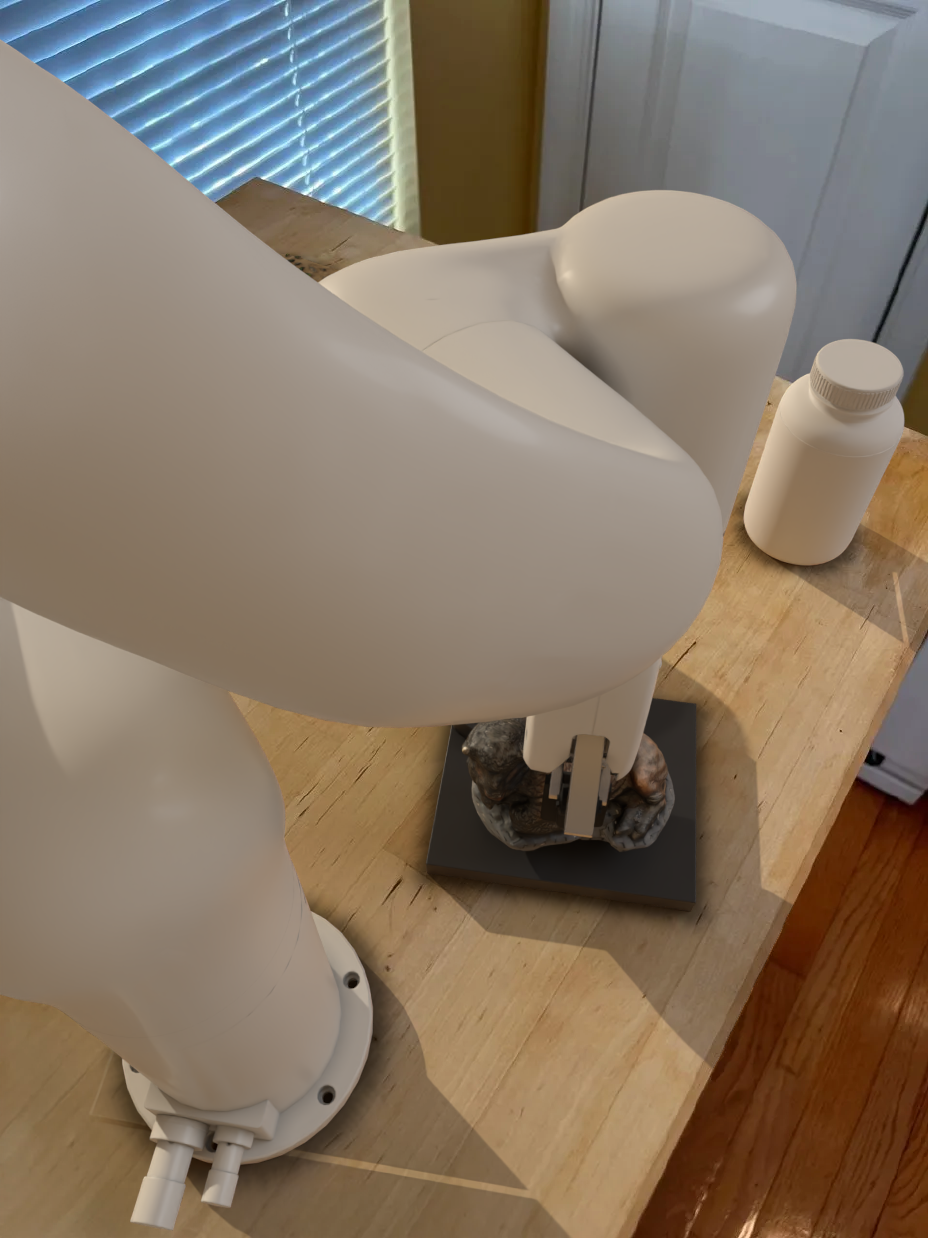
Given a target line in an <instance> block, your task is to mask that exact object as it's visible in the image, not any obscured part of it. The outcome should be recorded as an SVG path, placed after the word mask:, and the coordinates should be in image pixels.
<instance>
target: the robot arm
mask: <svg viewBox="0 0 928 1238" xmlns="http://www.w3.org/2000/svg"><path fill="white" fill-rule="evenodd" d="M278 253H279V252H277V251H276V250H275V249H273V248H272V247H271V246H269V245H268V244H267V243H265V242H264V241H263V240H262V239H260V238H259V237H258V236H256V235H255V234H254V233H253V232H251V231H250V230H249V229H248V228H246V227H245V226H244V225H243V224H241V223H240V222H239V221H238V220H237V219H235V218H234V217H233V216H231V215H230V214H229V213H228V212H227V211H225V209H223V208H222V207H220V205H218V204H217V203H215V202H214V201H213V200H212V199H211V198H209V196H207V195H206V194H205V193H203V191H201V190H200V189H198V187H196V185H194V184H193V183H192V182H191V181H189V180H188V179H187V178H186V177H185V176H183V175H182V174H181V173H180V172H178V171H177V169H175V168H174V167H173V166H171V164H169V163H168V162H167V161H166V160H165V159H163V158H162V157H161V156H160V155H159V154H158V153H156V151H155V152H154V151H153V150H152V148H150V147H149V146H147V144H145V143H144V142H143V141H142V140H140V139H139V138H138V137H137V136H135V134H133V133H132V132H130V131H129V130H128V129H126V128H125V127H124V126H123V125H121V124H120V123H119V122H118V121H116V120H115V119H114V118H112V117H111V116H110V115H108V114H107V113H106V112H104V110H102V109H101V108H99V107H98V106H97V105H96V104H94V103H93V102H91V101H90V100H89V99H88V98H86V97H85V96H84V95H82V94H81V93H79V92H78V91H77V90H75V89H74V88H73V87H71V86H70V85H68V84H67V83H66V82H64V81H62V80H61V79H60V78H59V77H57V76H56V75H54V74H52V73H51V72H49V71H48V70H46V69H44V68H43V67H41V66H40V65H38V64H37V63H36V62H35V61H33V60H31V59H30V58H28V57H27V56H26V55H25V54H23V53H22V52H21V51H19V50H17V49H16V48H14V47H13V46H11V45H10V44H8V43H6V42H5V41H4V40H2V39H0V995H1V996H3V997H8V998H11V999H15V1000H18V1001H24V1002H30V1003H36V1004H41V1005H46V1006H51V1007H53V1008H55V1009H57V1010H59V1011H60V1012H62V1013H63V1014H65V1015H66V1016H68V1017H69V1018H70V1019H71V1020H72V1021H74V1022H75V1023H76V1024H78V1025H79V1026H80V1027H81V1028H82V1029H84V1030H85V1031H86V1032H88V1033H90V1035H92V1036H93V1037H95V1038H96V1039H98V1040H99V1041H100V1042H102V1043H103V1044H104V1045H105V1046H106V1047H107V1048H109V1049H110V1050H111V1051H113V1052H114V1053H115V1054H116V1055H117V1056H118V1057H120V1058H121V1064H122V1069H123V1074H124V1079H125V1083H126V1088H127V1092H128V1093H129V1095H130V1098H131V1100H132V1102H133V1105H134V1107H135V1109H136V1111H137V1113H138V1114H139V1116H140V1117H141V1118H142V1119H143V1121H144V1122H145V1124H146V1125H147V1126H148V1127H149V1129H150V1131H151V1132H150V1136H149V1141H151V1142H154V1143H156V1144H155V1149H154V1151H153V1155H152V1157H151V1161H150V1164H149V1167H148V1171H147V1173H146V1175H145V1176H143V1179H142V1182H141V1185H140V1189H139V1192H138V1194H137V1198H136V1202H135V1205H134V1207H133V1212H132V1214H131V1217H130V1221H129V1223H132V1224H135V1225H139V1226H144V1227H149V1228H153V1229H159V1230H165V1231H174V1229H175V1225H176V1222H177V1218H178V1216H179V1215H178V1214H179V1211H180V1208H181V1204H182V1201H183V1198H184V1194H185V1191H186V1187H187V1184H185V1183H186V1179H187V1175H188V1172H189V1170H190V1169H189V1168H190V1165H191V1162H192V1158H193V1159H197V1160H199V1161H201V1162H205V1163H207V1164H212V1165H211V1169H209V1170H208V1174H207V1178H206V1181H205V1185H204V1187H203V1192H202V1196H201V1200H200V1203H203V1204H205V1205H209V1206H214V1207H220V1208H225V1209H231V1207H232V1204H233V1200H234V1197H235V1192H236V1188H237V1184H238V1180H239V1176H240V1175H239V1171H240V1168H241V1166H242V1165H251V1164H258V1163H261V1162H264V1161H268V1160H272V1159H274V1158H277V1157H280V1156H284V1155H285V1154H287V1153H289V1152H290V1151H293V1150H294V1149H296V1148H298V1147H300V1146H301V1145H304V1144H305V1143H306V1142H309V1140H311V1139H312V1138H313V1137H314V1136H315V1135H316V1134H318V1133H319V1132H321V1131H322V1130H323V1129H324V1128H325V1127H327V1126H328V1124H329V1123H330V1122H331V1121H332V1120H333V1119H334V1118H335V1116H336V1115H337V1114H338V1113H339V1112H340V1110H341V1109H343V1107H344V1106H345V1105H346V1103H347V1101H348V1100H349V1098H350V1096H351V1094H352V1093H353V1091H354V1090H355V1088H356V1086H357V1085H358V1083H359V1081H360V1078H361V1075H362V1073H363V1070H364V1068H365V1065H366V1063H367V1060H368V1057H369V1053H370V1048H371V1042H372V1037H373V1033H374V1032H373V1031H374V1030H373V1029H374V1024H373V1023H374V1005H373V1000H372V994H371V993H372V992H371V987H370V984H369V980H368V978H367V977H368V976H367V973H366V970H365V968H364V966H363V964H362V961H361V959H360V958H359V955H358V953H357V952H356V950H355V948H354V947H353V946H352V945H351V943H350V941H348V939H347V938H346V936H345V935H344V934H343V933H342V931H340V930H339V929H338V928H337V927H336V926H335V925H333V924H332V923H331V922H330V921H329V920H328V919H326V918H324V917H323V916H321V915H319V914H317V913H315V912H314V911H311V908H310V906H309V903H308V900H307V896H306V894H305V891H304V888H303V885H302V883H301V881H300V878H299V875H298V872H297V870H296V868H295V864H294V863H293V860H292V858H291V855H290V852H289V849H288V846H287V844H286V840H285V838H286V837H285V836H286V819H287V818H286V805H285V801H284V800H285V799H284V796H283V791H282V788H281V785H280V783H279V781H278V778H277V776H276V773H275V771H274V769H273V766H272V764H271V762H270V760H269V758H268V756H267V754H266V753H265V751H264V749H263V746H262V745H261V743H260V741H259V739H258V737H257V736H256V734H255V733H254V731H253V729H252V727H251V726H250V723H249V722H248V720H247V719H246V718H245V715H244V714H243V713H242V710H241V709H240V707H239V706H238V704H237V703H236V701H235V699H234V697H233V696H232V695H231V693H233V694H236V695H238V696H241V697H244V698H247V699H250V700H253V701H256V702H258V703H262V704H264V705H267V706H270V707H273V708H276V709H279V710H282V711H287V712H290V713H294V714H299V715H301V716H307V717H310V718H314V719H317V720H321V721H326V722H333V723H339V724H345V725H351V726H359V727H366V728H383V729H385V728H386V729H388V728H389V729H409V728H434V727H444V726H451V725H457V724H468V723H479V722H490V721H496V720H503V719H510V718H523V717H527V719H526V728H525V738H524V748H523V758H524V761H525V762H526V764H527V765H528V767H529V768H530V769H532V770H536V771H541V772H546V773H550V772H551V773H550V774H546V776H545V783H544V790H543V797H542V805H541V813H540V818H541V819H543V820H546V821H553V822H556V824H557V826H559V827H561V828H563V829H564V834H566V835H574V836H581V837H588V838H592V836H593V829H594V827H601V826H602V825H603V822H604V819H605V815H606V811H607V807H608V803H609V799H610V796H611V790H612V783H610V782H611V776H612V775H614V776H615V779H616V781H617V780H619V779H621V778H623V777H624V776H625V775H626V774H628V772H629V771H630V770H631V768H632V766H633V764H634V761H635V758H636V755H637V752H638V749H639V746H640V742H641V739H642V735H643V731H644V728H645V724H646V721H647V717H648V713H649V709H650V705H651V701H652V698H654V697H653V696H654V694H655V690H656V685H657V681H658V677H659V672H660V670H661V668H662V665H663V661H662V660H663V656H665V654H667V653H668V652H670V651H671V649H672V648H674V646H675V645H676V644H677V643H678V642H679V640H680V639H682V637H683V636H684V635H685V634H686V633H687V632H688V631H689V629H690V628H691V627H692V625H693V623H694V622H695V621H696V619H697V618H698V617H699V615H700V614H701V613H702V610H703V608H704V607H705V604H706V603H707V600H708V599H709V597H710V595H711V592H712V590H713V587H714V585H715V582H716V578H717V576H718V572H719V569H720V566H721V562H722V554H723V548H724V547H723V546H724V537H725V533H726V530H727V528H728V525H729V522H730V519H731V515H732V512H733V509H734V507H735V503H736V499H737V498H738V497H737V496H738V493H739V491H740V487H741V484H742V482H743V478H744V474H745V472H746V468H747V467H748V466H747V465H748V461H749V459H750V456H751V452H752V451H753V450H752V449H753V447H754V444H755V440H756V437H757V433H758V431H759V427H760V425H761V421H762V419H763V416H764V412H765V410H766V409H765V408H766V406H767V403H768V400H769V396H770V394H771V390H772V388H773V387H772V386H773V384H774V380H775V378H776V375H777V372H778V368H779V365H780V361H781V359H782V356H783V352H784V350H785V346H786V343H787V339H788V337H789V333H790V329H791V325H792V321H793V318H794V313H795V310H796V305H797V291H798V290H797V289H798V283H797V277H796V271H795V267H794V262H793V260H792V258H791V256H790V254H789V252H788V249H787V247H786V245H785V244H784V242H783V241H782V240H781V238H780V237H779V236H778V235H777V233H776V232H775V230H773V229H772V228H770V227H769V226H768V225H767V224H765V223H764V222H763V221H762V220H761V219H760V218H758V217H757V216H755V215H754V214H753V213H751V212H749V211H747V210H746V209H745V208H742V207H740V206H738V205H735V204H733V203H731V202H729V201H727V200H723V199H719V198H717V197H714V196H710V195H706V194H701V193H696V192H691V191H683V190H673V189H672V190H671V189H652V190H651V189H650V190H637V191H631V192H627V193H622V194H617V195H614V196H611V197H607V198H605V199H602V200H601V201H598V202H595V203H594V204H592V205H590V206H588V207H586V208H584V209H582V210H581V211H579V212H578V213H576V214H575V215H573V216H571V218H570V219H569V220H568V221H566V223H564V224H563V225H562V226H560V227H557V228H552V229H547V230H542V231H541V230H540V231H535V232H531V233H530V232H529V233H525V234H518V235H512V236H503V237H496V238H490V239H481V240H474V241H466V242H456V243H447V244H446V243H445V244H440V245H431V246H424V247H417V248H410V249H403V250H398V251H394V252H389V253H385V254H381V255H377V256H373V257H370V258H366V259H363V260H360V261H357V262H354V263H352V264H350V265H347V266H346V267H343V268H342V269H341V268H340V269H339V271H337V272H335V273H333V274H331V275H329V276H327V277H326V278H324V279H323V280H321V281H319V282H316V281H315V280H314V279H312V278H311V277H309V276H308V275H307V274H305V273H304V272H302V271H301V270H300V269H298V268H297V267H295V266H294V265H293V264H291V263H290V262H289V261H287V260H286V259H285V258H284V257H282V256H281V255H280V254H278ZM564 762H568V763H572V768H571V772H567V771H563V769H564ZM353 981H355V982H356V983H357V984H356V986H355V987H354V988H353V987H352V988H351V987H349V985H350V983H351V982H353ZM327 1094H331V1095H332V1100H331V1101H329V1102H324V1098H325V1096H326V1095H327ZM214 1144H217V1147H216V1149H214Z"/></svg>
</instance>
